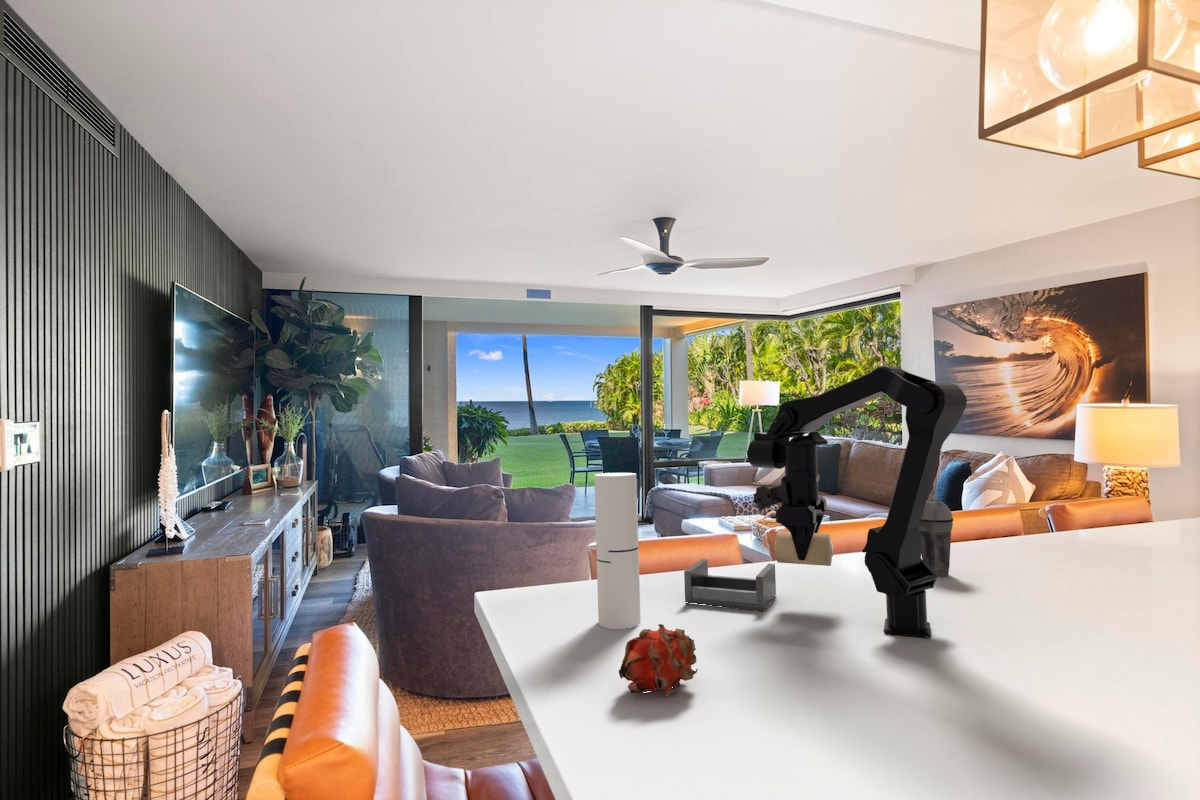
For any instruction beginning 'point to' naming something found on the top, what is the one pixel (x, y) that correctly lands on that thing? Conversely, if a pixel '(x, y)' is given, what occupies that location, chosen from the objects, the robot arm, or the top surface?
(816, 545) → the paper roll
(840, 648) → the top surface
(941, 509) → the beverage cup
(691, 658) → the dragon fruit
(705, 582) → the cradle
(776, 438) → the robot arm
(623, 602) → the cylindrical container
